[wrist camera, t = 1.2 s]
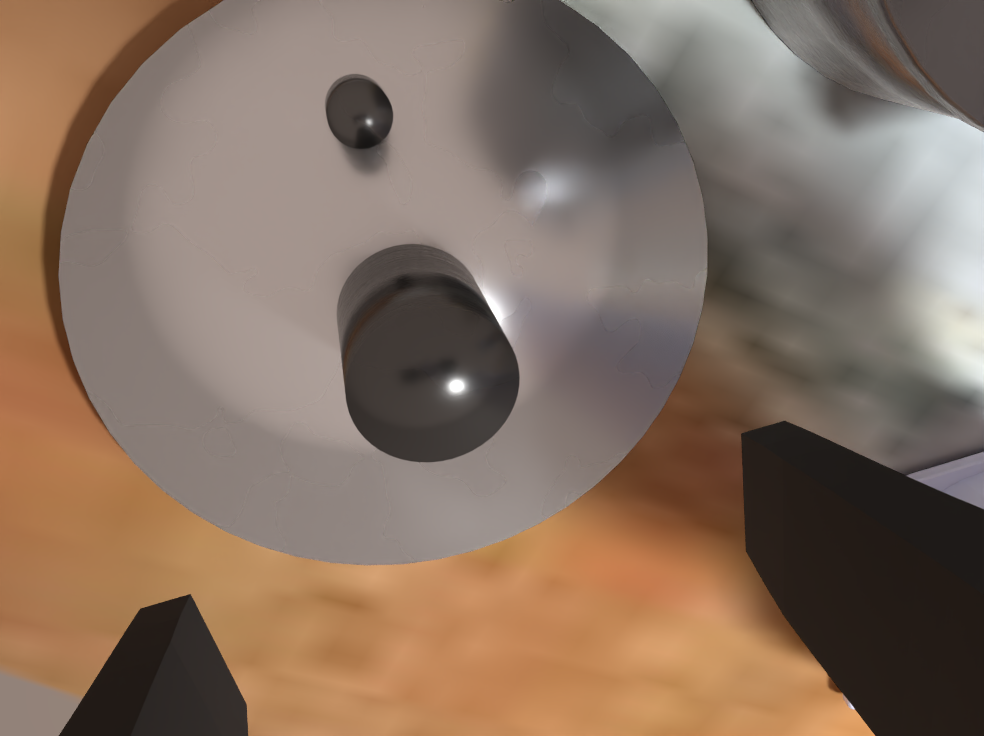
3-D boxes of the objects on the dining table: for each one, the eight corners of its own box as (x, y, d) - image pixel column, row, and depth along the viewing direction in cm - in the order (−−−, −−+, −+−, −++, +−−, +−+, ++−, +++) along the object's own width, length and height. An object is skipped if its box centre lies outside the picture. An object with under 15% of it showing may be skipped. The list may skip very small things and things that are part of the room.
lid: (708, 461, 23) (790, 562, 19) (209, 607, 21) (191, 747, 17) (670, -113, 16) (786, -133, 12) (-69, 46, 14) (-197, 79, 11)
